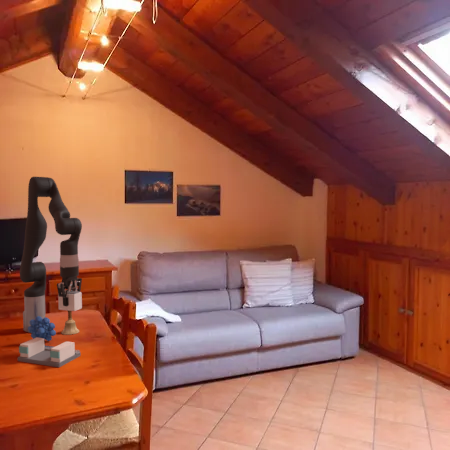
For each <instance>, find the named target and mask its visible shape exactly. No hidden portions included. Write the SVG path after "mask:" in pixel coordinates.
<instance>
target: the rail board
mask: <svg viewBox="0 0 450 450" xmlns="http://www.w3.org/2000/svg"><path fill="white" fill-rule="evenodd" d="M75 346H76V345H75V342H74V341H73V342H72V341H68V340H67V341H64V342H62V343H60V344H58V345H56V346H52V345H47V344H46V345H45V341H44V338H37V337H36V338H34V339H33V338H32V339H29V340H27V341H24V342H22V343H20V344H19V346H18V353H19V354H20V355H19V356H17V362H23V363H28V364H35V365H43V366H48V367H56V368H61V367H63V366H64V365H66V364H69V363H70V362H71V361H74V360H76V359H77V358H79V357H81V350H80V349H76V347H75Z"/></svg>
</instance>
